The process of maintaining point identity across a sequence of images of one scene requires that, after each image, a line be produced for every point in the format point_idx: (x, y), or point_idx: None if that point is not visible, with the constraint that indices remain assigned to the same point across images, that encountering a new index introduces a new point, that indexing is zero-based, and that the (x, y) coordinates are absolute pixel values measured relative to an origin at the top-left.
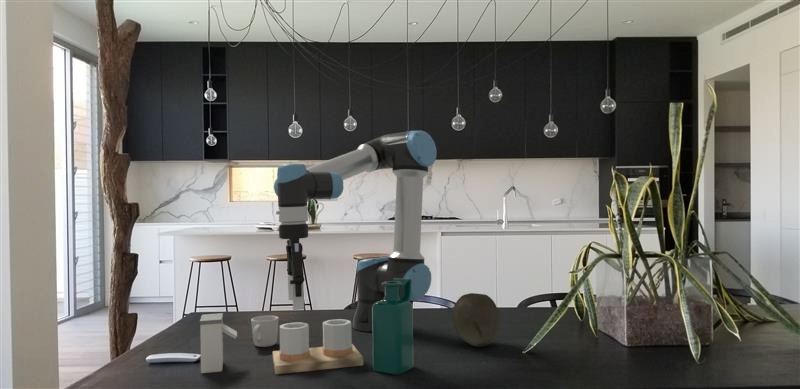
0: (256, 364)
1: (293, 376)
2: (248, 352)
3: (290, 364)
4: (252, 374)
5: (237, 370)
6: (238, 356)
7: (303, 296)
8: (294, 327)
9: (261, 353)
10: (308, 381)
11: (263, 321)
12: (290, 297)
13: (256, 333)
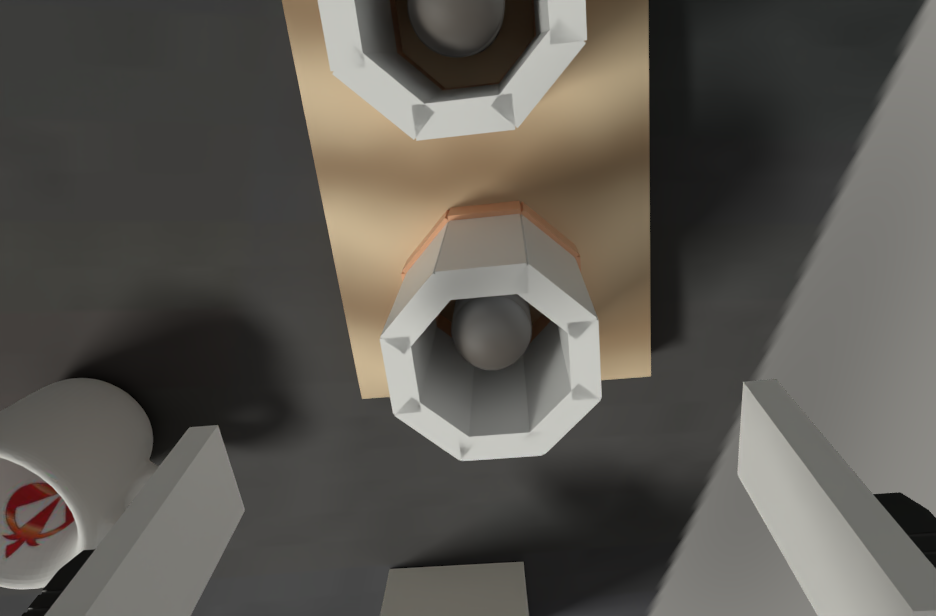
0: None
1: (705, 275)
2: None
3: (648, 306)
4: (607, 450)
5: (527, 509)
6: (302, 521)
7: (843, 465)
8: (416, 352)
9: (262, 432)
10: (819, 202)
11: (85, 525)
12: (229, 514)
13: None
